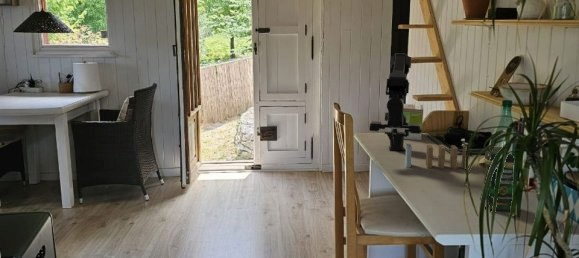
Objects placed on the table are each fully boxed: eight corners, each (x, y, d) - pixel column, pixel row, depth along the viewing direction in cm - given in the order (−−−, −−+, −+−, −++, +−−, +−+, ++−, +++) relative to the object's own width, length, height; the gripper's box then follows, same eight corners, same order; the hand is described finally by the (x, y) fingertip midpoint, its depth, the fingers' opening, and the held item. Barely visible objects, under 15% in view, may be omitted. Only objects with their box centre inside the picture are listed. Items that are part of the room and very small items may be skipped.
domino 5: (461, 166, 210) (463, 145, 208) (465, 166, 210) (467, 146, 208) (464, 169, 205) (465, 148, 203) (468, 169, 205) (470, 149, 203)
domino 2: (425, 164, 211) (426, 144, 210) (429, 164, 211) (431, 144, 209) (427, 168, 206) (428, 147, 205) (431, 168, 206) (433, 147, 204)
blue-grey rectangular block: (405, 163, 212) (406, 143, 210) (409, 164, 212) (410, 143, 210) (406, 167, 207) (407, 146, 205) (410, 167, 207) (411, 146, 205)
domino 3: (437, 165, 211) (439, 144, 209) (441, 165, 211) (443, 145, 209) (439, 168, 206) (441, 148, 204) (444, 168, 206) (445, 148, 204)
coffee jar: (483, 210, 161) (488, 149, 157) (477, 202, 169) (482, 143, 165) (517, 212, 160) (523, 151, 156) (510, 203, 168) (515, 144, 164)
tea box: (421, 140, 253) (423, 108, 250) (399, 139, 255) (401, 107, 252) (420, 133, 268) (422, 103, 265) (400, 132, 270) (401, 103, 267)
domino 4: (449, 165, 210) (451, 145, 209) (453, 165, 210) (455, 145, 208) (451, 169, 205) (453, 148, 204) (456, 169, 205) (457, 148, 204)
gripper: (421, 107, 211) (419, 146, 214) (372, 104, 215) (371, 143, 219) (421, 111, 201) (418, 153, 204) (370, 109, 205) (368, 149, 208)
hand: (393, 149), depth 209 cm, fingers closed
